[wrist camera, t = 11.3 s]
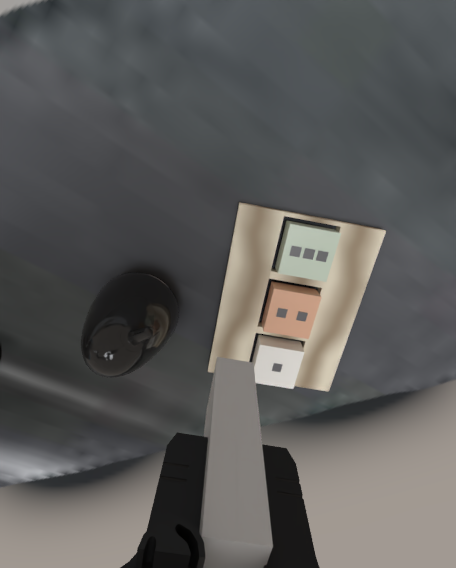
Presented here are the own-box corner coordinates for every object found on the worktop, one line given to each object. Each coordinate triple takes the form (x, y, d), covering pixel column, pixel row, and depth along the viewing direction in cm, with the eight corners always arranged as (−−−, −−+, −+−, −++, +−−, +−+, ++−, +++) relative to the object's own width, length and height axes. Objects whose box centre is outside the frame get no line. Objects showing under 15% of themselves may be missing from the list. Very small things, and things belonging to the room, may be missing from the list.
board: (208, 365, 46) (207, 371, 45) (239, 202, 38) (239, 203, 36) (325, 384, 47) (328, 391, 45) (380, 228, 39) (386, 230, 37)
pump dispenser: (199, 309, 43) (182, 378, 29) (140, 344, 45) (96, 424, 31) (154, 248, 40) (111, 291, 26) (93, 288, 42) (22, 348, 28)
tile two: (261, 321, 42) (263, 331, 40) (271, 281, 40) (274, 288, 38) (304, 329, 43) (308, 339, 40) (316, 289, 41) (321, 297, 38)
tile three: (274, 266, 40) (277, 273, 37) (286, 220, 38) (290, 223, 35) (320, 274, 40) (326, 282, 37) (334, 229, 38) (341, 233, 35)
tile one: (249, 370, 45) (250, 382, 42) (258, 334, 43) (260, 345, 40) (289, 376, 45) (293, 389, 43) (300, 341, 43) (304, 352, 41)
